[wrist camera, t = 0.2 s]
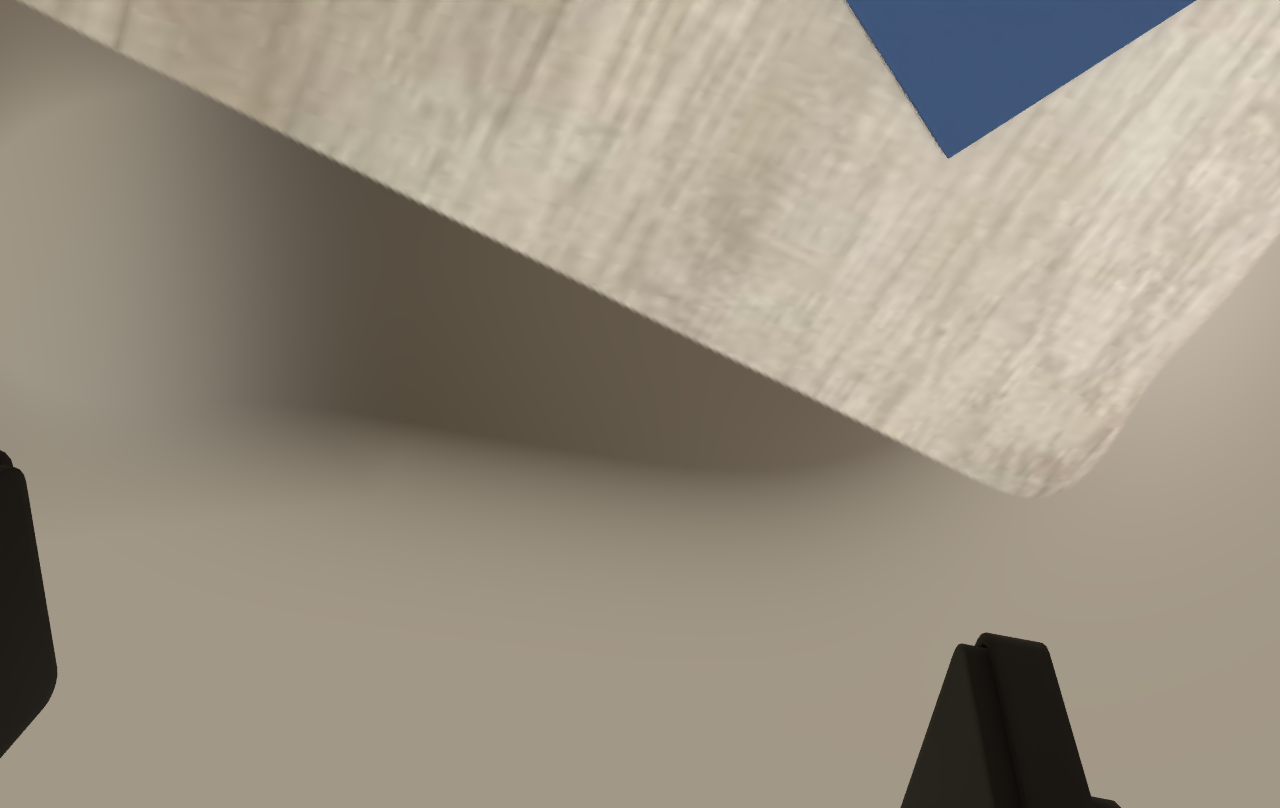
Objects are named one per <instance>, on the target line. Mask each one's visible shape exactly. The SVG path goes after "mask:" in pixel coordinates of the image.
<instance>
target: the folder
mask: <svg viewBox="0 0 1280 808" xmlns="http://www.w3.org/2000/svg"><path fill="white" fill-rule="evenodd" d="M846 1H847V2H848V4H849V6H850V7H851V9H852V10H853V12H854V13H855V15H856V16H857V18H858V20H859V21H860V23H861V24H862V26H863V27H864V29H865V30H866V32H867V34H868V35H869V37H870V38H871V40H872V41H873V43H874V44H875V46H876V48H877V49H878V51H879V52H880V54H881V55H882V57H883V58H884V60H885V62H886V63H887V65H888V66H889V68H890V69H891V71H892V72H893V74H894V76H895V77H896V79H897V80H898V82H899V83H900V85H901V86H902V88H903V90H904V91H905V93H906V94H907V96H908V97H909V99H910V100H911V102H912V104H913V105H914V107H915V108H916V110H917V111H918V113H919V114H920V116H921V118H922V119H923V121H924V122H925V124H926V125H927V127H928V129H929V130H930V132H931V133H932V135H933V136H934V138H935V139H936V141H937V143H938V144H939V146H940V147H941V149H942V150H943V152H944V153H945V155H946V157H947V158H950V157H952V156H953V155H955V154H957V153H958V152H960V151H961V150H963V149H964V148H966V147H967V146H969V145H971V144H972V143H974V142H975V141H977V140H978V139H980V138H982V137H983V136H985V135H986V134H988V133H989V132H991V131H992V130H994V129H996V128H997V127H999V126H1000V125H1002V124H1003V123H1005V122H1007V121H1008V120H1010V119H1011V118H1013V117H1014V116H1016V115H1018V114H1019V113H1021V112H1022V111H1024V110H1025V109H1027V108H1028V107H1030V106H1032V105H1033V104H1035V103H1036V102H1038V101H1039V100H1041V99H1043V98H1044V97H1046V96H1047V95H1049V94H1050V93H1052V92H1053V91H1055V90H1057V89H1058V88H1060V87H1061V86H1063V85H1064V84H1066V83H1068V82H1069V81H1071V80H1072V79H1074V78H1075V77H1077V76H1078V75H1080V74H1082V73H1083V72H1085V71H1086V70H1088V69H1089V68H1091V67H1093V66H1094V65H1096V64H1097V63H1099V62H1100V61H1102V60H1103V59H1105V58H1107V57H1108V56H1110V55H1111V54H1113V53H1114V52H1116V51H1118V50H1119V49H1121V48H1122V47H1124V46H1125V45H1127V44H1128V43H1130V42H1132V41H1133V40H1135V39H1136V38H1138V37H1139V36H1141V35H1143V34H1144V33H1146V32H1147V31H1149V30H1150V29H1152V28H1154V27H1155V26H1157V25H1158V24H1160V23H1161V22H1163V21H1164V20H1166V19H1168V18H1169V17H1171V16H1172V15H1174V14H1175V13H1177V12H1179V11H1180V10H1182V9H1183V8H1185V7H1186V6H1188V5H1189V4H1191V3H1193V2H1194V1H1196V0H846Z"/></svg>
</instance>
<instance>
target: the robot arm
mask: <svg viewBox="0 0 1280 808" xmlns="http://www.w3.org/2000/svg"><path fill="white" fill-rule="evenodd" d="M56 679H57V665H56V658H55V652H54V646H53V640H52V634H51V629H50V622H49V616H48V611H47V605H46V598H45V592H44V586H43V580H42V574H41V569H40V562H39V557H38V550H37V545H36V539H35V533H34V526H33V520H32V514H31V508H30V502H29V496H28V490H27V484H26V480H25V477H24V474H23V473H22V472H21V470H20V469H17V468H15V467H13V464H12V461H11V459H10V458H9V457H8V455H7V454H6V453H5V452H3V451H1V450H0V758H1V757H2V756H3V754H4V753H5V752H6V751H7V750H8V749H9V748H10V746H11V745H12V744H13V743H14V742H15V741H16V739H17V738H18V737H19V736H20V735H21V734H22V732H23V731H24V730H25V729H26V728H27V727H28V725H29V724H30V723H31V722H32V721H33V720H34V719H35V717H36V716H37V715H38V714H39V713H40V712H41V710H42V709H43V708H44V707H45V705H46V704H47V703H48V701H49V699H50V697H51V695H52V693H53V690H54V688H55V684H56ZM901 808H1121V807H1120V806H1119V805H1118V804H1117V803H1116V802H1115V801H1112V800H1107V799H1102V798H1097V797H1091V795H1090V791H1089V788H1088V784H1087V781H1086V777H1085V774H1084V770H1083V767H1082V764H1081V760H1080V757H1079V753H1078V750H1077V746H1076V743H1075V740H1074V736H1073V733H1072V729H1071V726H1070V722H1069V719H1068V715H1067V712H1066V709H1065V705H1064V702H1063V698H1062V695H1061V691H1060V688H1059V684H1058V681H1057V677H1056V674H1055V670H1054V667H1053V663H1052V660H1051V657H1050V653H1049V651H1048V649H1047V647H1046V646H1045V645H1044V644H1043V643H1040V642H1034V641H1029V640H1023V639H1018V638H1012V637H1007V636H1002V635H997V634H991V633H983V634H981V635H980V637H979V638H978V640H977V642H976V644H975V646H972V645H966V644H959V645H958V646H957V647H956V649H955V651H954V653H953V656H952V659H951V662H950V665H949V668H948V671H947V674H946V677H945V680H944V682H943V685H942V689H941V691H940V694H939V697H938V700H937V703H936V706H935V709H934V712H933V715H932V717H931V721H930V724H929V726H928V729H927V733H926V735H925V738H924V741H923V744H922V747H921V750H920V753H919V756H918V758H917V761H916V764H915V767H914V770H913V773H912V776H911V779H910V782H909V785H908V788H907V791H906V794H905V797H904V799H903V803H902V806H901Z"/></svg>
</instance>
